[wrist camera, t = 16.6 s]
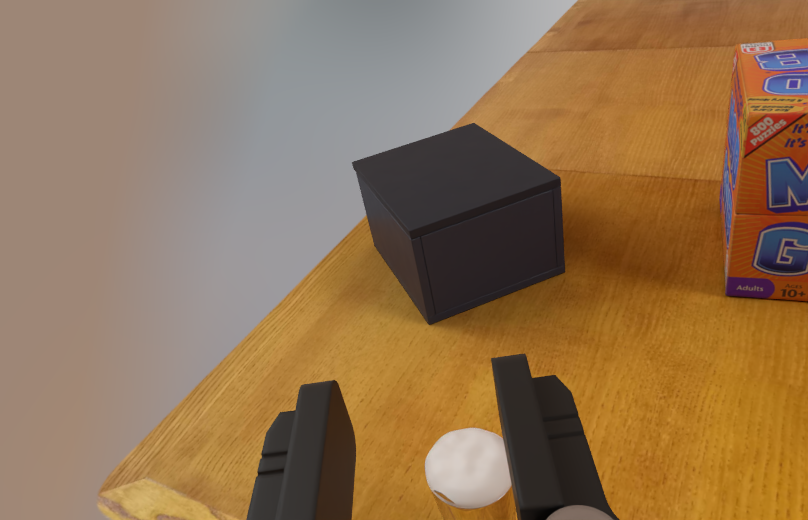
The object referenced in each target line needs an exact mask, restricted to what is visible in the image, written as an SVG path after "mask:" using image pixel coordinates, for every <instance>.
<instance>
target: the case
mask: <svg viewBox="0 0 808 520" xmlns="http://www.w3.org/2000/svg"><path fill="white" fill-rule="evenodd" d="M356 174H357V172H356ZM357 178H358V182H359V186H360V190H361V194H362V198H363V201H364V206H365V210H366V214H367V218H368V222H369V226H370V230H371V234H372V238H373V242H374V246H375V247H376V249H377V250H378V251H379V253H380V254H381V256H382V257H383V259H384V260H385V262H386V263H387V265H388V266H389V267H390V269H391V270H392V272H393V273H394V275H395V276H396V278H397V279H398V281H399V282H400V283H401V285H402V286H403V288H404V289H405V291H406V292H407V294H408V295H409V297H410V298H411V300H412V301H413V302H414V304H415V305H416V307H417V308H418V310H419V311H420V313H421V314H422V316H423V317H424V318H425V320H426V321H427V323H428V324H429V325H430V324H433V323H435V322H438V321H441V320H443V319H446V318H448V317H451V316H453V315H456V314H459V313H461V312H464V311H466V310H469V309H471V308H474V307H477V306H479V305H482V304H484V303H487V302H489V301H492V300H494V299H497V298H500V297H502V296H505V295H507V294H510V293H512V292H515V291H518V290H520V289H523V288H525V287H528V286H530V285H533V284H535V283H538V282H541V281H543V280H546V279H548V278H551V277H553V276H556V275H559V274H561V273H564V272H565V261H564V240H563V220H562V200H561V186H559V187H556V188H553V189H550V190H548V191H545V192H542V193H539V194H536V195H534V196H531V197H528V198H525V199H522V200H520V201H517V202H514V203H511V204H508V205H506V206H503V207H500V208H497V209H494V210H492V211H489V212H486V213H483V214H480V215H478V216H475V217H472V218H469V219H466V220H464V221H461V222H458V223H455V224H452V225H450V226H447V227H444V228H441V229H438V230H436V231H433V232H430V233H427V234H424V235H422V236H419V237H416V238H413V239H410V237H409V236H408V235H407V234H406V232H405V231H404V230H403V229H402V228H401V226H400V225H399V224H398V223H397V221H396V220H395V219H394V218H393V217H392V215H391V214H390V213H389V212H388V210H387V209H386V208H385V207H384V205H383V204H382V203H381V202H380V201H379V199H378V198H377V197H376V196H375V194H374V193H373V192H372V191H371V190H370V188H369V187H368V186H367V185H366V183H365V182H364V181H363V180H362V178H361V177H360V176H359V175H358V174H357Z"/></svg>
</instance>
